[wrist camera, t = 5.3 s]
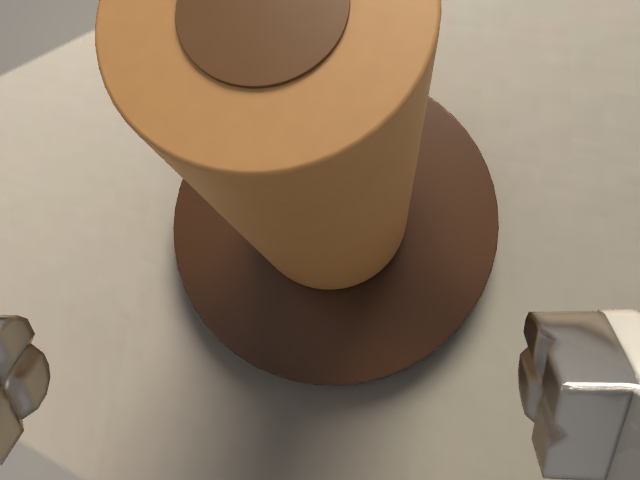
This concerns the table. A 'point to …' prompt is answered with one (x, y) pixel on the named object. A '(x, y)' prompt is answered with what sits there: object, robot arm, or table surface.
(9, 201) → the table surface
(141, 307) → the table surface
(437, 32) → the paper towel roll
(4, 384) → the robot arm
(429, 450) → the table surface
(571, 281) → the table surface
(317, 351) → the disc
